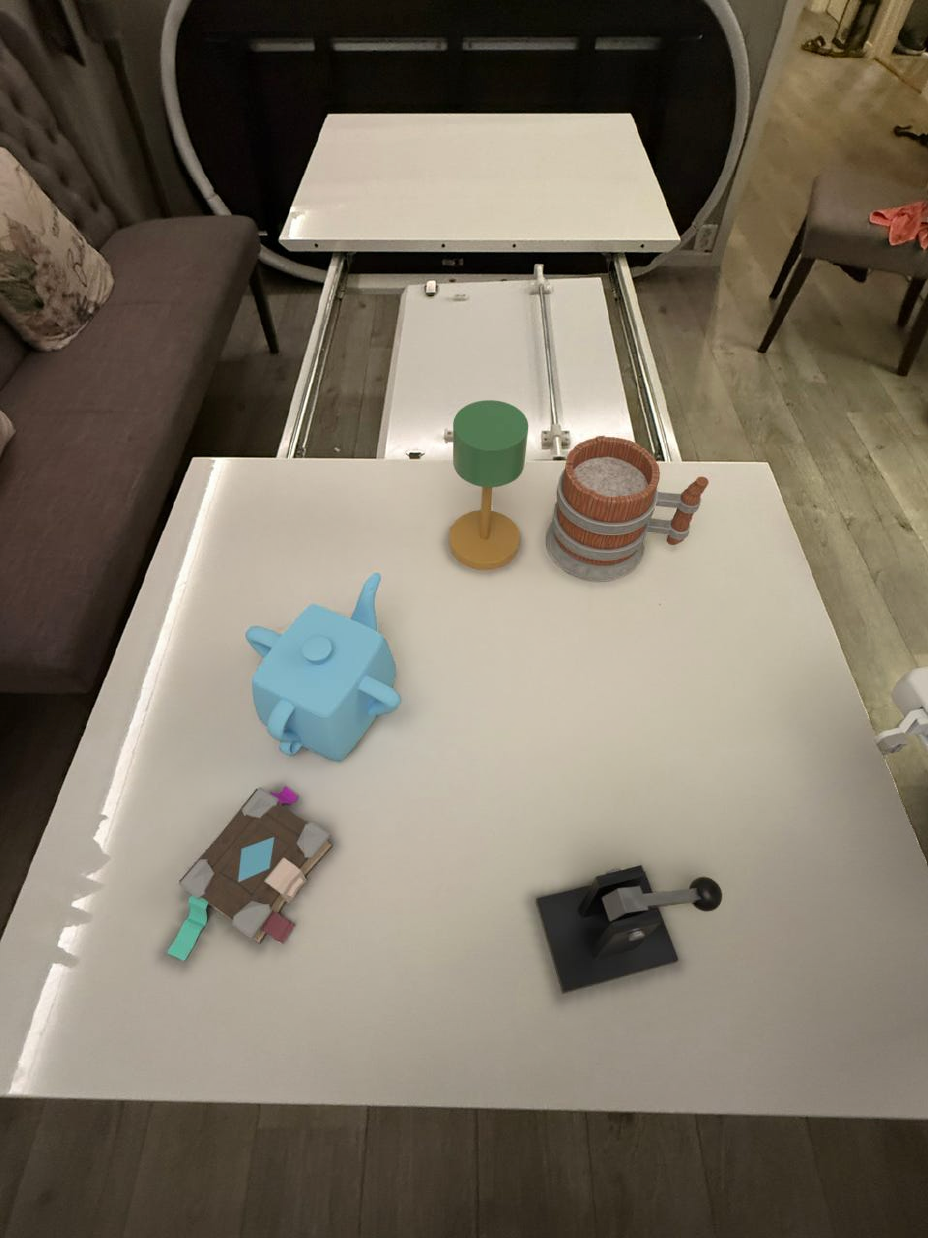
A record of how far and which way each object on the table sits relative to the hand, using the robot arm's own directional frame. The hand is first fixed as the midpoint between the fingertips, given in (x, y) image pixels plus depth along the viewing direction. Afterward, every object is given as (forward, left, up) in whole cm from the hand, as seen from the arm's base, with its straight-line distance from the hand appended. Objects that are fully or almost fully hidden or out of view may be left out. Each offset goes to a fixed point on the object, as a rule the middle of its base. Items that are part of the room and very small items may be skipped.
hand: (913, 795), depth 59 cm
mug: (+49, -3, -24) cm, 54 cm away
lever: (+2, +18, -17) cm, 25 cm away
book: (+20, +54, -24) cm, 62 cm away
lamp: (+56, +14, -24) cm, 62 cm away
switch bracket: (+3, +22, -24) cm, 32 cm away
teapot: (+39, +40, -24) cm, 61 cm away
